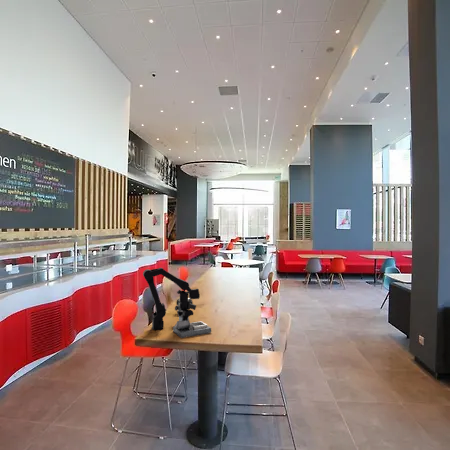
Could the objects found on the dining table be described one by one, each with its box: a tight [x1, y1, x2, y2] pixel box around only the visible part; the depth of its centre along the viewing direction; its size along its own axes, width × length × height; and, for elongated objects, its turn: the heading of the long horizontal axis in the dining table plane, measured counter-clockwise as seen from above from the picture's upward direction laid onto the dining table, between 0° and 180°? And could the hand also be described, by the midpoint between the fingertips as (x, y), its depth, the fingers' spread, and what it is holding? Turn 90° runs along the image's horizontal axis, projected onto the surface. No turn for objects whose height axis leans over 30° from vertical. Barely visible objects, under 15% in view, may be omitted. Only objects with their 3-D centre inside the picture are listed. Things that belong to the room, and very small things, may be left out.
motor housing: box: [172, 319, 212, 339], centre depth 195 cm, size 21×14×8 cm, turn 120°
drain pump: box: [178, 315, 190, 321], centre depth 208 cm, size 5×5×7 cm
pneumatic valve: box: [175, 297, 194, 306], centre depth 241 cm, size 6×12×12 cm, turn 82°
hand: (183, 323), depth 208 cm, fingers closed on drain pump, 5 cm apart
